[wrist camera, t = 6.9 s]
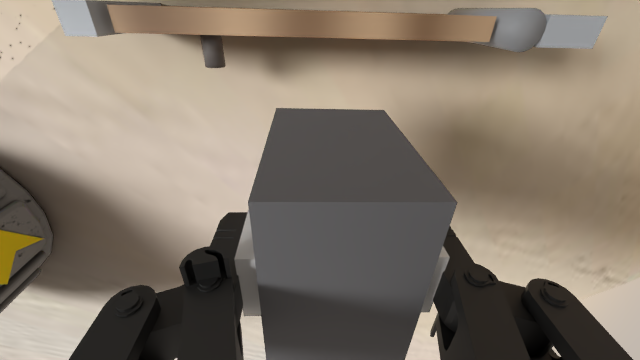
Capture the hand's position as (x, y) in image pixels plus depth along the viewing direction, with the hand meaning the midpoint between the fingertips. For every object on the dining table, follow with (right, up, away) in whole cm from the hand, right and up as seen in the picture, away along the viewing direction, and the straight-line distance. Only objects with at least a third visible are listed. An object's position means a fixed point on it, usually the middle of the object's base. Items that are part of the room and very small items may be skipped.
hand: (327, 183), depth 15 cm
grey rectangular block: (0, 0, +1) cm, 0 cm away
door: (-1, +11, +6) cm, 13 cm away
